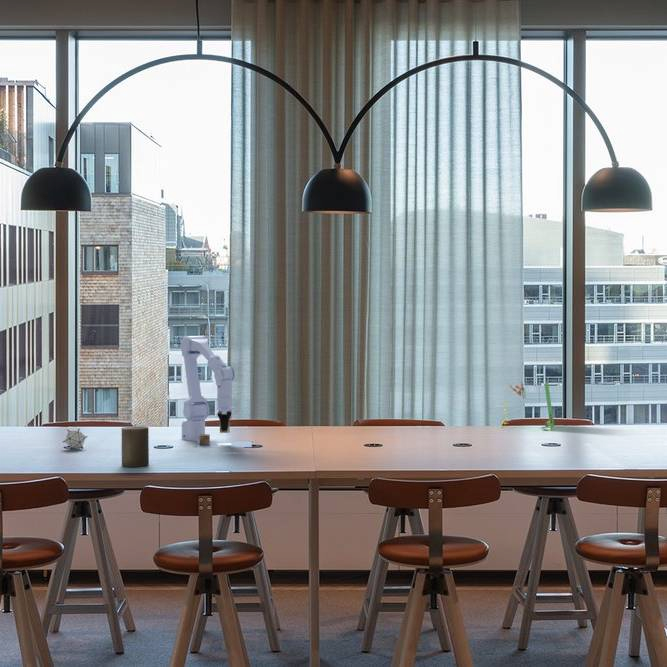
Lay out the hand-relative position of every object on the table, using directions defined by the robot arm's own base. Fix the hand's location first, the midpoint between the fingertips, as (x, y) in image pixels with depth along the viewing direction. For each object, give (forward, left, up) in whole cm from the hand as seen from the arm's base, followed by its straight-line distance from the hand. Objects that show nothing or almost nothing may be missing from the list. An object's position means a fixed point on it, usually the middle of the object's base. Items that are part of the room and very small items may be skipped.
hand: (224, 430), depth 432 cm
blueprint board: (0, 0, -6) cm, 6 cm away
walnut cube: (-7, -4, -6) cm, 10 cm away
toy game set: (+95, +114, -7) cm, 148 cm away
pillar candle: (-4, -56, -7) cm, 57 cm away
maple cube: (0, 0, -1) cm, 1 cm away
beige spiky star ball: (-49, -33, -7) cm, 60 cm away
